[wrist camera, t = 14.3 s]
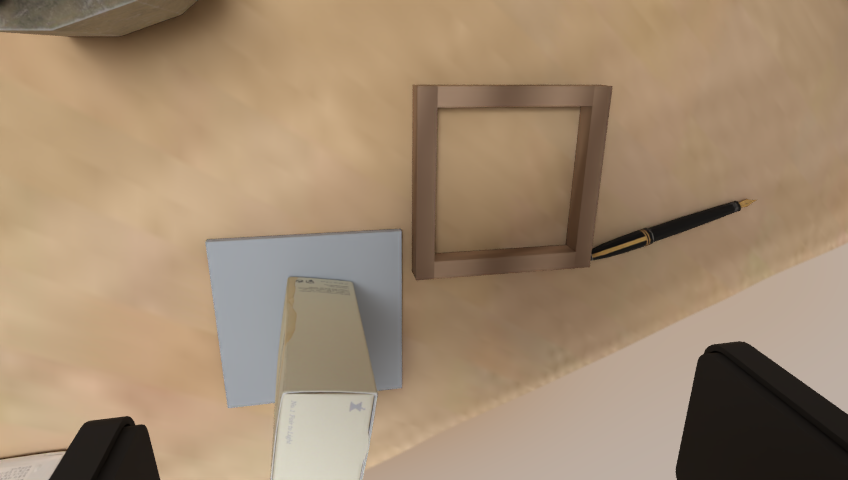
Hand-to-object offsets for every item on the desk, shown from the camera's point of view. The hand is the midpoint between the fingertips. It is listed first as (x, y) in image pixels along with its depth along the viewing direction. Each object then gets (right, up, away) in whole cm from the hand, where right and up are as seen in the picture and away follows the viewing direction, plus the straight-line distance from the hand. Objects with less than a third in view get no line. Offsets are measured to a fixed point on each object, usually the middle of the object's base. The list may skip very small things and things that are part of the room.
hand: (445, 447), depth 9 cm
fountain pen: (+18, +5, +31) cm, 36 cm away
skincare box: (-8, -2, +26) cm, 27 cm away
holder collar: (+5, +8, +26) cm, 28 cm away
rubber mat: (-8, -2, +27) cm, 28 cm away
